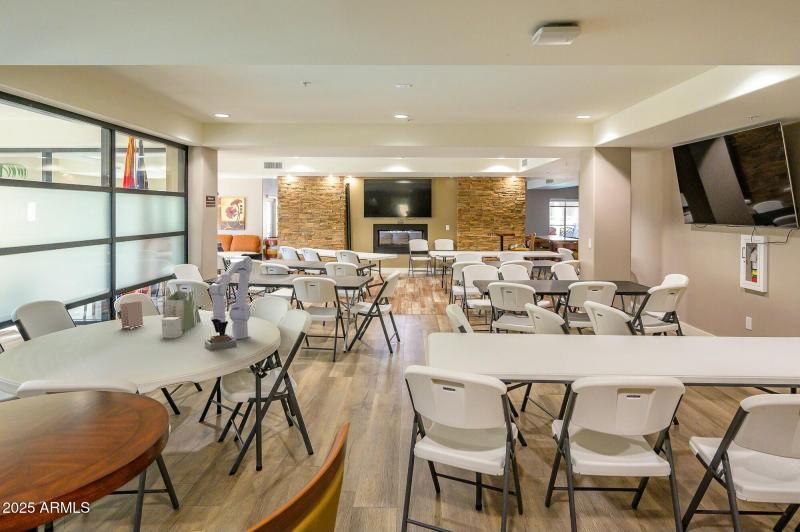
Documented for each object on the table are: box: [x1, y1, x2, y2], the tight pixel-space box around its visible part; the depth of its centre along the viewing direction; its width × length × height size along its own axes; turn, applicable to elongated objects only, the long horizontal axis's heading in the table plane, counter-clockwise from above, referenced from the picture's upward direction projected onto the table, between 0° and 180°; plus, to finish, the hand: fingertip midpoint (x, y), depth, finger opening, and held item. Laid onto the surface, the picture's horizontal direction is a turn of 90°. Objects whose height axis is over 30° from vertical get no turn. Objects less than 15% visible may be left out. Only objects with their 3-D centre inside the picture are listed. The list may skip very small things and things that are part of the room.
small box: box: [160, 317, 183, 339], centre depth 268 cm, size 8×6×10 cm
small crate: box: [210, 333, 231, 344], centre depth 248 cm, size 5×8×4 cm, turn 125°
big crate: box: [204, 335, 238, 351], centre depth 248 cm, size 10×13×3 cm
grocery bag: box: [162, 288, 202, 333], centre depth 292 cm, size 32×14×23 cm, turn 9°
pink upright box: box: [119, 300, 144, 329], centre depth 292 cm, size 11×7×15 cm, turn 133°
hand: (220, 333), depth 247 cm, fingers open, 7 cm apart
